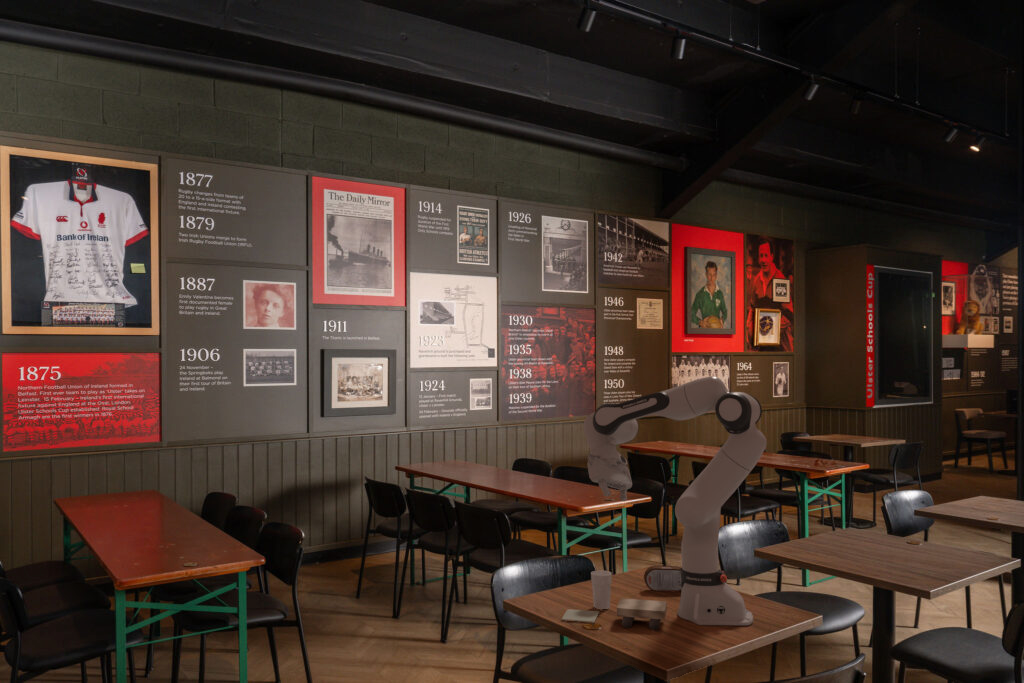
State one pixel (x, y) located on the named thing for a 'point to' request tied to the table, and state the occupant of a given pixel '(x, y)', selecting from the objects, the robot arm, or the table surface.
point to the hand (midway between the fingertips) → (616, 497)
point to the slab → (642, 611)
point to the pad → (581, 615)
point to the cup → (601, 589)
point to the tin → (663, 578)
